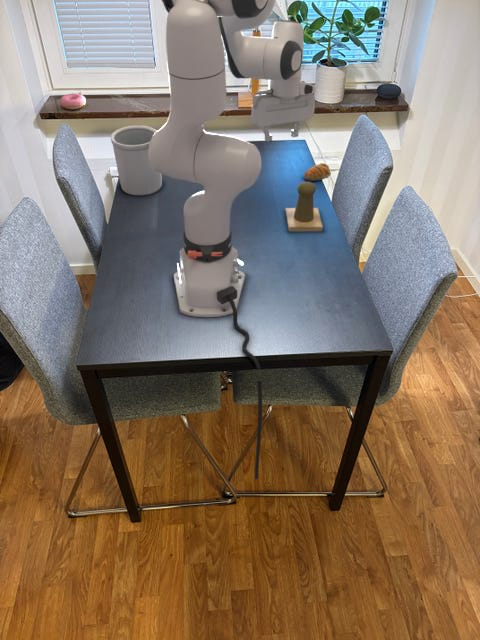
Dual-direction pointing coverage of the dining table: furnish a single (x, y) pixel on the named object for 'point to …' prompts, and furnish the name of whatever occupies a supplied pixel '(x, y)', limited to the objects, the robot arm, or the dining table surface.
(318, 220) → the serving board
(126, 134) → the utensil holder
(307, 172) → the pastry
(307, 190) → the olive brown pawn
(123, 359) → the dining table surface
